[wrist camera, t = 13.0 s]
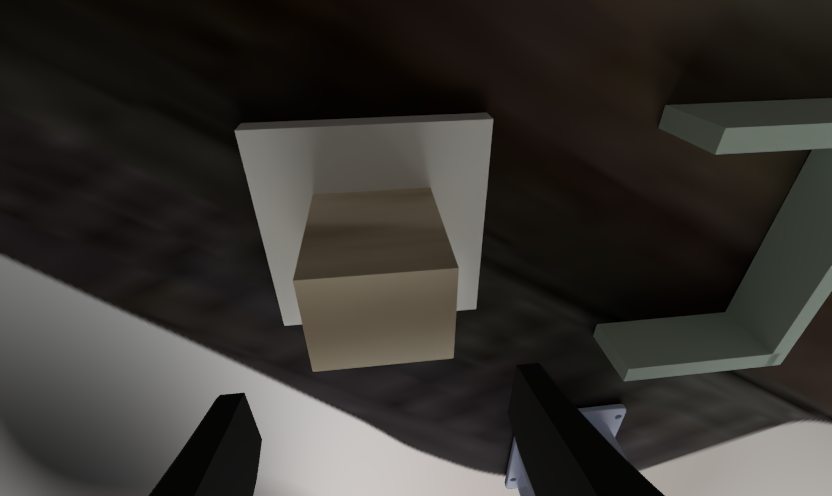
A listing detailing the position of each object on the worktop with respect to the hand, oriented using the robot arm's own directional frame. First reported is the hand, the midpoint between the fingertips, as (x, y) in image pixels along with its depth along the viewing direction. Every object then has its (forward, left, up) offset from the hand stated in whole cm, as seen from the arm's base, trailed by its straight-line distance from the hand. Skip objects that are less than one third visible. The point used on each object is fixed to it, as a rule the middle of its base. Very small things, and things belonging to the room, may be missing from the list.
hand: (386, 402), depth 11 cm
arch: (-2, -18, -10) cm, 21 cm away
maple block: (0, 0, -9) cm, 9 cm away
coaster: (0, 0, -10) cm, 10 cm away
